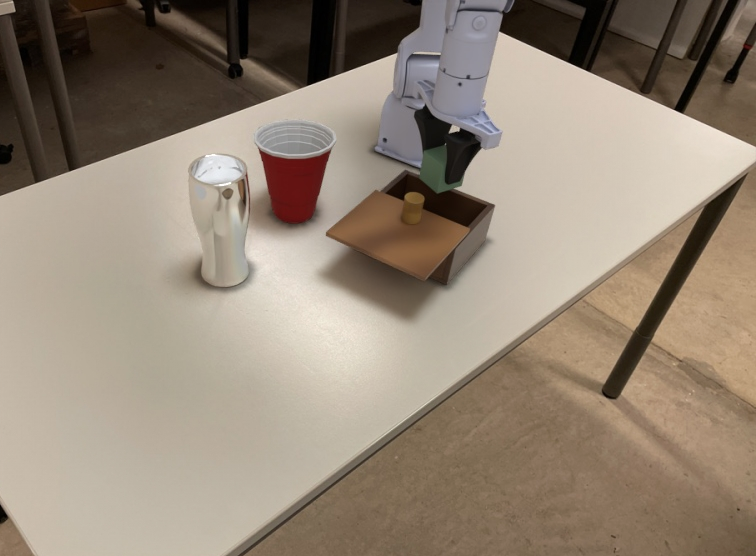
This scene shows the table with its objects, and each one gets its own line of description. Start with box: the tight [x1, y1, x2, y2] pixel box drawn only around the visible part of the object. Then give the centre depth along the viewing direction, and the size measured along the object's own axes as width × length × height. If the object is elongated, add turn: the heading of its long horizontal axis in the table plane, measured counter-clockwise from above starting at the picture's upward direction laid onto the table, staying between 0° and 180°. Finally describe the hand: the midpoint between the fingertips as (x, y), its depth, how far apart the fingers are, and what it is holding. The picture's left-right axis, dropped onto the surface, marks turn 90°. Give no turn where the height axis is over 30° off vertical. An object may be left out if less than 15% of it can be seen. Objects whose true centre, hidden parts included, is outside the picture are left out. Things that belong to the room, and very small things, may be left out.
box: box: [379, 169, 496, 286], centre depth 88 cm, size 14×12×6 cm
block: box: [418, 144, 466, 193], centre depth 84 cm, size 4×4×4 cm
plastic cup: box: [253, 119, 337, 224], centre depth 89 cm, size 11×11×12 cm
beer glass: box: [187, 152, 251, 288], centre depth 79 cm, size 7×7×15 cm
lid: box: [325, 189, 470, 282], centre depth 79 cm, size 14×12×4 cm
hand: (441, 173), depth 85 cm, fingers closed on block, 4 cm apart
